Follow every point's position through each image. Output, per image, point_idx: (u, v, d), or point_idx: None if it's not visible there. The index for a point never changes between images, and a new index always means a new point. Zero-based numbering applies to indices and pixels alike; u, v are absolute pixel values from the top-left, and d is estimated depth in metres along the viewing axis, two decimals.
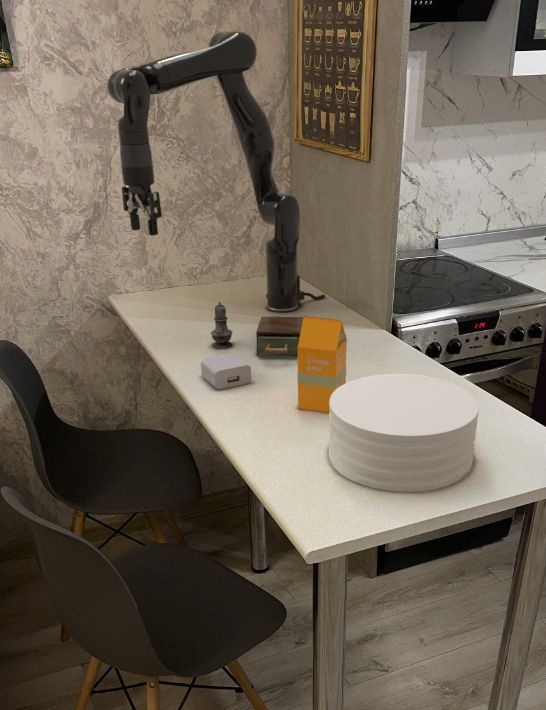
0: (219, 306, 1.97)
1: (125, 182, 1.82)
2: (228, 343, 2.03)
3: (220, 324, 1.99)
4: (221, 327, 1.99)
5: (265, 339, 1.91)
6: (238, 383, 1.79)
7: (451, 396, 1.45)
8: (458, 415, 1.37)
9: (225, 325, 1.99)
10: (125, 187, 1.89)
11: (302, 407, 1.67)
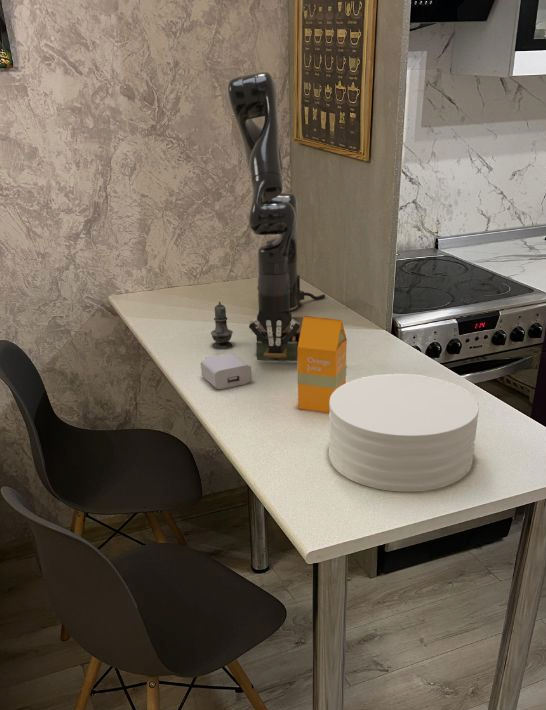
0: (219, 306, 1.97)
1: (272, 311, 1.78)
2: (228, 343, 2.03)
3: (220, 324, 1.99)
4: (221, 327, 1.99)
5: (264, 344, 1.89)
6: (238, 383, 1.79)
7: (451, 396, 1.45)
8: (458, 415, 1.37)
9: (225, 325, 1.99)
10: (251, 323, 1.83)
11: (302, 407, 1.67)
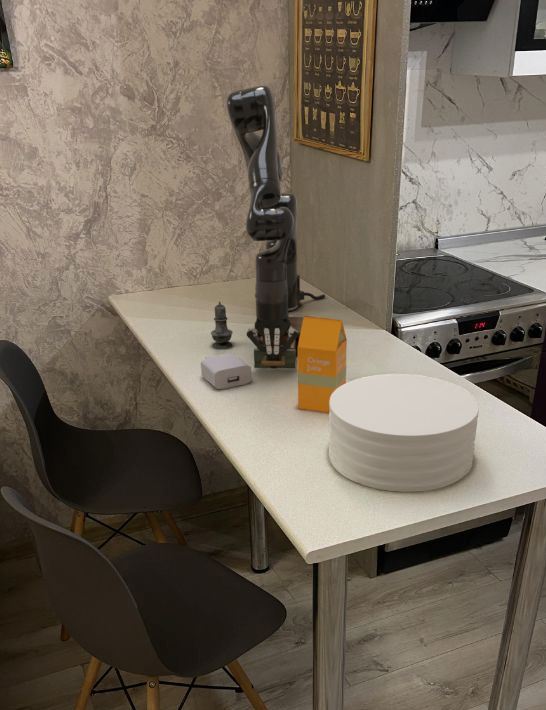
0: (219, 306, 1.97)
1: (270, 318, 1.73)
2: (228, 343, 2.03)
3: (220, 324, 1.99)
4: (221, 327, 1.99)
5: None
6: (238, 383, 1.79)
7: (451, 396, 1.45)
8: (458, 415, 1.37)
9: (225, 325, 1.99)
10: (249, 331, 1.78)
11: (302, 407, 1.67)
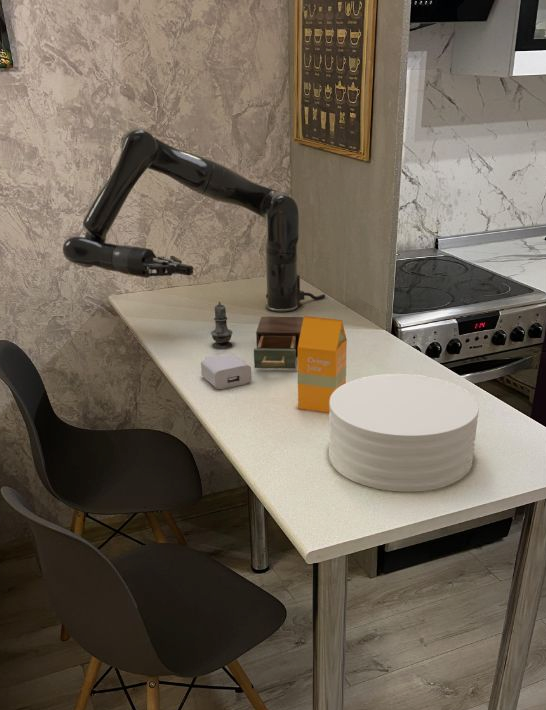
0: (219, 306, 1.97)
1: None
2: (228, 343, 2.03)
3: (220, 324, 1.99)
4: (221, 327, 1.99)
5: (261, 351, 1.84)
6: (238, 383, 1.79)
7: (451, 396, 1.45)
8: (458, 415, 1.37)
9: (225, 325, 1.99)
10: None
11: (302, 407, 1.67)
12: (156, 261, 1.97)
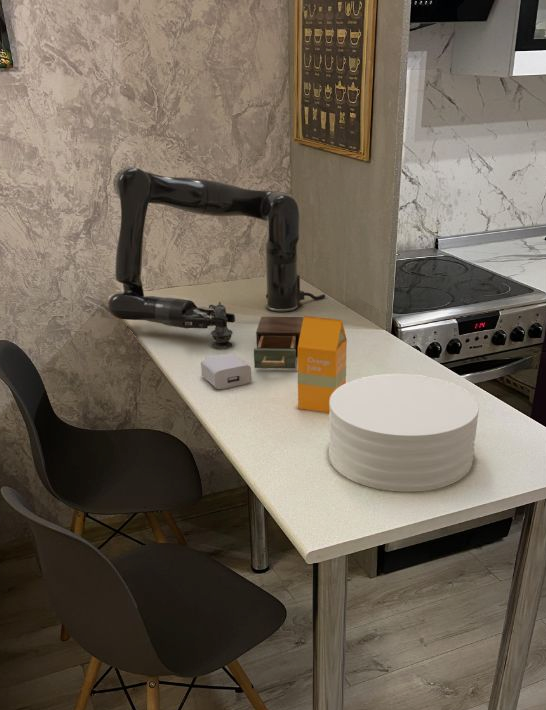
0: (219, 306, 1.97)
1: None
2: (228, 343, 2.03)
3: None
4: (222, 327, 1.99)
5: (261, 351, 1.84)
6: (238, 383, 1.79)
7: (451, 396, 1.45)
8: (458, 415, 1.37)
9: None
10: None
11: (302, 407, 1.67)
12: (195, 313, 2.00)
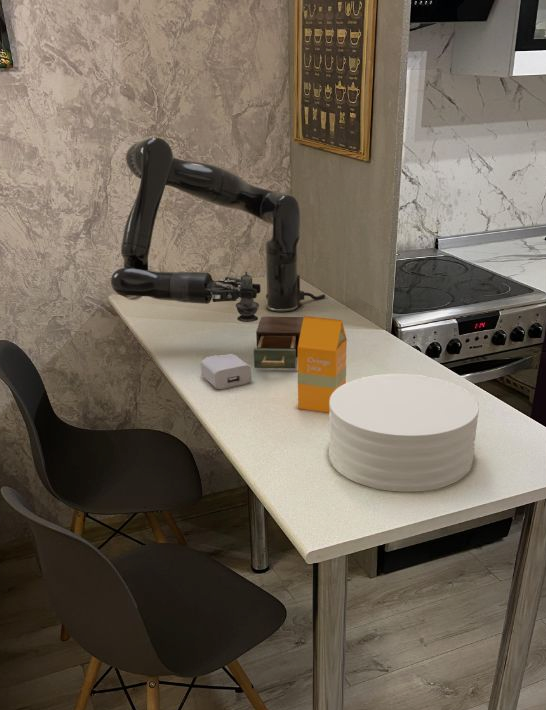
0: (246, 276, 1.84)
1: None
2: (254, 316, 1.90)
3: None
4: (249, 298, 1.86)
5: (261, 351, 1.84)
6: (238, 383, 1.79)
7: (451, 396, 1.45)
8: (458, 415, 1.37)
9: None
10: None
11: (302, 407, 1.67)
12: (219, 285, 1.85)
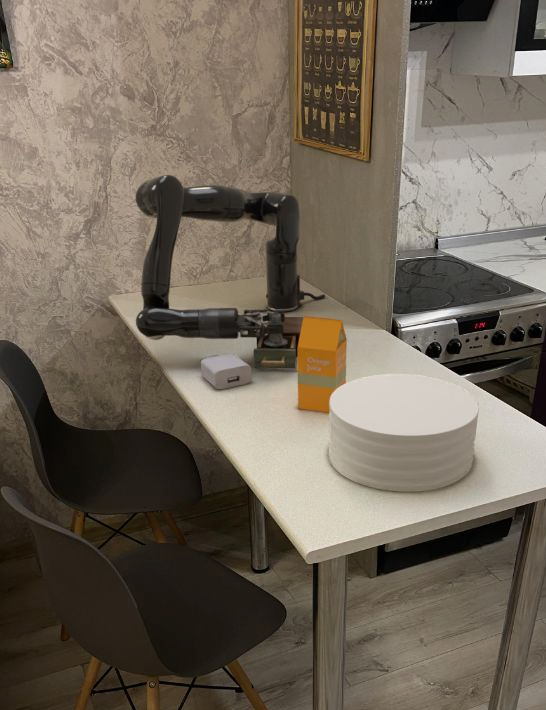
0: (276, 314, 1.85)
1: None
2: None
3: None
4: (279, 336, 1.87)
5: (261, 351, 1.84)
6: (239, 383, 1.79)
7: (451, 396, 1.45)
8: (458, 415, 1.37)
9: None
10: None
11: (302, 407, 1.67)
12: (247, 320, 1.84)
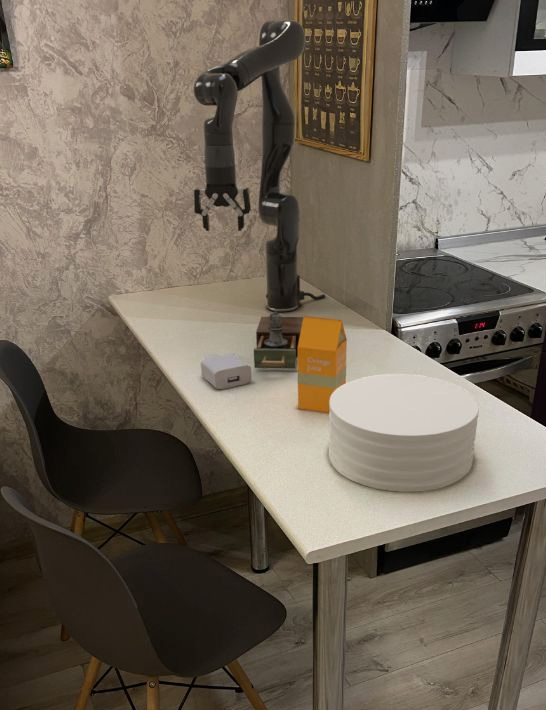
0: (276, 314, 1.85)
1: (218, 182, 1.87)
2: None
3: (277, 333, 1.86)
4: (279, 336, 1.87)
5: (261, 351, 1.84)
6: (239, 383, 1.79)
7: (451, 396, 1.45)
8: (458, 415, 1.37)
9: (281, 333, 1.88)
10: (198, 189, 1.91)
11: (302, 407, 1.67)
12: None
